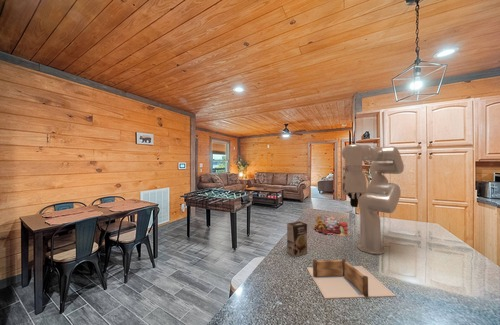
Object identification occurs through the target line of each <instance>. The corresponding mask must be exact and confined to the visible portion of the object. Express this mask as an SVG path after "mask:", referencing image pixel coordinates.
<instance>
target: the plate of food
mask: <svg viewBox="0 0 500 325" xmlns="http://www.w3.org/2000/svg"><path fill="white" fill-rule="evenodd" d="M315 222H316V223H315V225H314V227H313V229H314V230H315V229H316V230H315V231H316V232H318V231H319V232H318V233H322V232H323V233H322V235H328V234H330V235H329V236H335V235H337V236H336V237H342V236H346V237H349V236H351V234H348V233H350V231H351V230H350V229H349V228H348V227H349V226H348V223H347V222H345V221H343V222H341V221H340V222H339V220H337V219H336V218H335V217H333V216H330V217H323V219H322V215H317V216H316V219H315ZM341 230H342V231H341ZM349 230H350V231H349ZM331 234H333V235H331ZM348 235H349V236H348Z"/></svg>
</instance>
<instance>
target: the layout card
mask: <svg viewBox="0 0 500 325" xmlns="http://www.w3.org/2000/svg"><path fill="white" fill-rule="evenodd" d="M352 266H353V267H354V268H355V269H357V270H358V271H359V272H360V273H362V274H363V275H364V276H367V277H368V297H365V296H364V294H363V293H362V292H361V291H360V290H359V289H358V288H356V287H355V286H354V285H353V284H352V283H351V282H350V281H349V280H348V279H347V278H346V277H345V276H343V275H342V276H317V277H314V276H313V266H312V267H310V266H308V267H306V270H307V272H308V273H309V275H310V277H311V278H312V280H313V282H314V283H315V286H316V287H317V288H318V290H319V292H320V293H321V295H322V296H323V299H324V300H333V299H334V300H335V299H337V300H338V299H340V300H341V299H365V298H367V299H368V298H370V299H371V298H394V297H397V296H396V294H395V293H394V292H392V291H391V290H390V289H389V288H388V287H386V286H385V285H384V284H383V283H382V282H381V281H379V280H378V278H376V277H375V276H374V275H373V274H372V273H370V272H369V271H368V270H367V269H366V268H365V267H364V266H362V265H352Z"/></svg>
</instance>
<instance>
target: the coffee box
mask: <svg viewBox="0 0 500 325" xmlns="http://www.w3.org/2000/svg"><path fill="white" fill-rule="evenodd" d="M286 225H287V226H286V228H287V229H286V230H287V231H286V232H287V233H286V243H287V244H286V248H287V249H286V253H288V254H289V255H290V256H292V257H293V258H296V257H300V256H304V255H307V254H308V223H305V222H302V221H294V222H289V223H286Z"/></svg>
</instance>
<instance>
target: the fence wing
mask: <svg viewBox="0 0 500 325" xmlns="http://www.w3.org/2000/svg"><path fill="white" fill-rule="evenodd" d="M353 266H354V265H352V264H351V263H349V262H348V261H346V262H344V270H345V277H346V278H347V279H348V280H349V281H350V282H351V283H352V284H353V285H354V286H355V287H356V288H358V289H359V290H360V291H361V292H362V293H363V294H364V296H365V297H368V277H367V276H364V275H363V274H362V273H360V272H359V271H358V270H357V269H355V268H354V267H353Z"/></svg>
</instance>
